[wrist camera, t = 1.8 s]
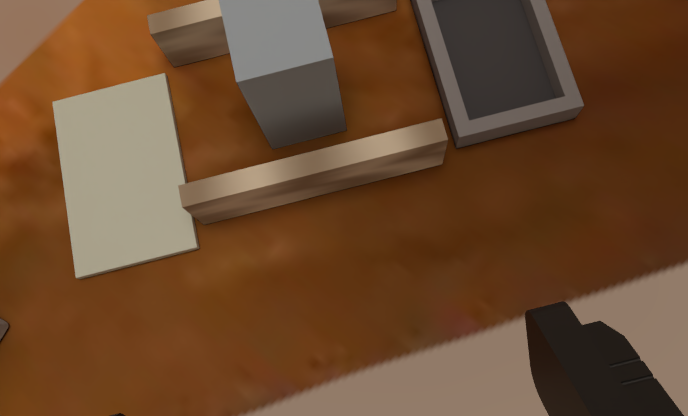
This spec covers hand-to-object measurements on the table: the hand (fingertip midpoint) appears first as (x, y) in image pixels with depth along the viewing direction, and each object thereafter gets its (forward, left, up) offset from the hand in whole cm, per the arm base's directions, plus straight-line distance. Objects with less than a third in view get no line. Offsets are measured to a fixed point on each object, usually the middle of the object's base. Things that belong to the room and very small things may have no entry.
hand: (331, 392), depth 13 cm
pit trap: (-11, -16, -22) cm, 30 cm away
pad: (+11, -15, -22) cm, 29 cm away
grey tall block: (0, -16, -22) cm, 28 cm away
